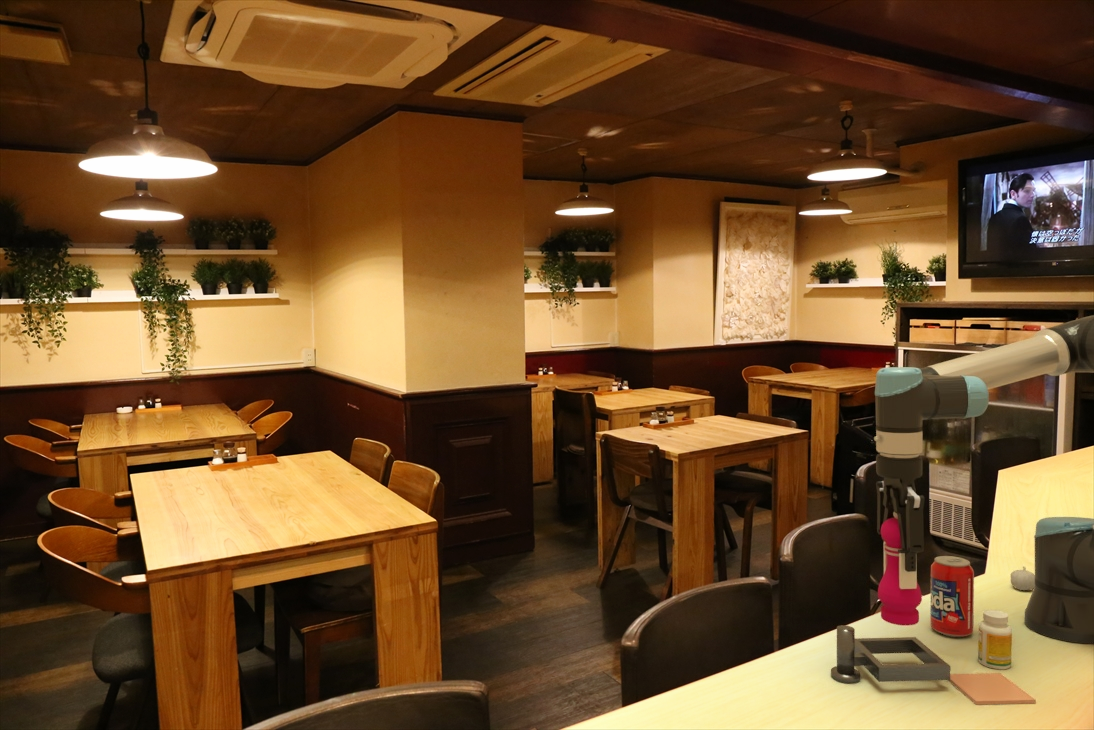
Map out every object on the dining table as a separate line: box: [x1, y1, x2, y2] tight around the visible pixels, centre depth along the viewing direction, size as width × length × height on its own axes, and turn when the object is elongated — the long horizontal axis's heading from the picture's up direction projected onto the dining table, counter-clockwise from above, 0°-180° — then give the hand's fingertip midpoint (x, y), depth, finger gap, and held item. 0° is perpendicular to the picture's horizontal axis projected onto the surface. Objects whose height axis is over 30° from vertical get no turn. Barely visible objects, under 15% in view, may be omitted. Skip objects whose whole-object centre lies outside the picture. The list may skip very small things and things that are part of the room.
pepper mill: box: [877, 512, 923, 626], centre depth 139 cm, size 7×7×20 cm
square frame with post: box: [830, 624, 951, 685], centre depth 140 cm, size 18×12×9 cm
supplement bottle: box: [977, 609, 1013, 670], centre depth 144 cm, size 5×5×10 cm
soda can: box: [929, 555, 975, 638], centre depth 159 cm, size 8×8×15 cm
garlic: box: [1010, 566, 1035, 591], centre depth 184 cm, size 6×5×5 cm
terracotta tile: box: [947, 672, 1037, 706], centre depth 134 cm, size 10×10×1 cm
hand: (899, 581), depth 139 cm, fingers closed on pepper mill, 5 cm apart
